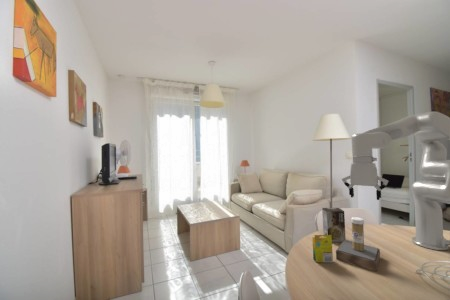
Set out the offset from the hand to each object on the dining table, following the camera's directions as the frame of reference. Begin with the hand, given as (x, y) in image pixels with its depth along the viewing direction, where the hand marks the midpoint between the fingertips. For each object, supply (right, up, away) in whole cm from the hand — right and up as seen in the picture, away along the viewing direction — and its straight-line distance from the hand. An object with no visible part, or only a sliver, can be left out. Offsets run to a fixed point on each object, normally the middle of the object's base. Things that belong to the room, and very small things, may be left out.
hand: (364, 198), depth 89 cm
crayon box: (-21, -26, -4) cm, 34 cm away
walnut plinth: (-5, -26, -3) cm, 26 cm away
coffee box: (-5, -26, +16) cm, 31 cm away
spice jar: (-5, -22, -3) cm, 23 cm away
